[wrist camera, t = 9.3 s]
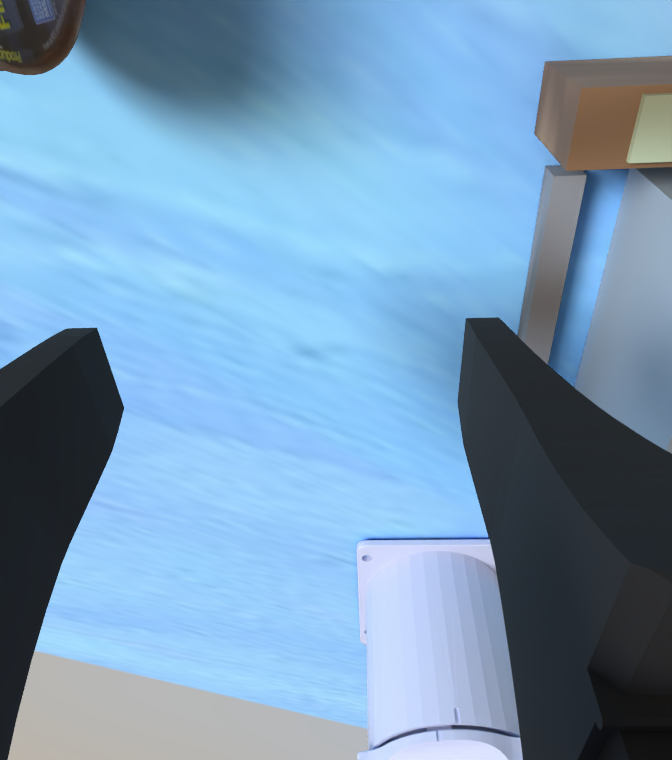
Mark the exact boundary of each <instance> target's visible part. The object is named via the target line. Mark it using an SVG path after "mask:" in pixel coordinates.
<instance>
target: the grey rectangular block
mask: <svg viewBox="0 0 672 760" xmlns="http://www.w3.org/2000/svg"><path fill="white" fill-rule="evenodd" d="M574 388H575V389H576V390H578V391H579V392H580V393H582V394H583V395H584V396H585V397H587V398H588V399H589V400H591V401H592V402H593V403H594V404H596V405H597V406H598V407H600V408H601V409H602V410H604V411H605V412H607V413H608V414H609V415H611V416H612V417H614V418H615V419H617V420H618V421H620V422H621V423H623V424H624V425H626V426H627V427H629V428H630V429H632V430H633V431H635V432H636V433H638V434H639V435H641V436H643V437H644V438H646V439H647V440H649V441H651V442H652V443H654V444H656V445H658V446H659V447H661V448H663V449H664V450H666V451H668V452H670V453H672V167H657V168H630V169H629V171H628V175H627V179H626V183H625V187H624V191H623V195H622V199H621V203H620V207H619V211H618V215H617V219H616V223H615V227H614V231H613V235H612V239H611V243H610V247H609V251H608V255H607V259H606V263H605V267H604V271H603V275H602V279H601V283H600V287H599V291H598V295H597V299H596V303H595V307H594V311H593V315H592V319H591V323H590V327H589V330H588V334H587V338H586V342H585V346H584V350H583V354H582V358H581V362H580V366H579V370H578V374H577V378H576V382H575V386H574Z"/></svg>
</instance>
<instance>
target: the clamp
mask: <svg viewBox="0 0 672 760" xmlns="http://www.w3.org/2000/svg"><path fill="white" fill-rule="evenodd" d="M534 134H535V135H536V136H537V137H538V139H539V140H540V141H541V142H542V143H543V144H544V146H545V147H546V148H547V149H548V150H549V152H550V153H551V154H552V155H553V156H554V157H555V159H556V160H557V161H558V162H559V163H560V164H561V165H556V166H545V172H544V178H543V184H542V190H541V196H540V202H539V208H538V215H537V221H536V227H535V233H534V239H533V245H532V251H531V257H530V263H529V269H528V276H527V282H526V288H525V294H524V300H523V306H522V312H521V318H520V324H519V331H518V337H519V338H520V339H521V340H522V341H523V342H524V343H525V344H526V345H527V346H528V347H529V348H530V349H531V350H532V351H533V352H534V353H535V354H537V355H538V356H539V357H540V358H541V359H542V360H543V361H544V362H545V363H546V364H547V365H548V361H549V356H550V351H551V347H552V342H553V337H554V332H555V327H556V322H557V318H558V313H559V308H560V303H561V298H562V293H563V289H564V284H565V279H566V274H567V269H568V264H569V260H570V255H571V250H572V245H573V240H574V235H575V231H576V226H577V221H578V216H579V211H580V207H581V202H582V197H583V192H584V187H585V182H586V178H587V175H586V174H585V172H584V171H583V170H603V169H630V168H657V167H672V56H658V57H636V58H614V59H592V60H571V61H549V62H545V66H544V72H543V79H542V86H541V93H540V99H539V106H538V113H537V120H536V126H535V133H534Z"/></svg>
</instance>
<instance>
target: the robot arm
mask: <svg viewBox="0 0 672 760" xmlns="http://www.w3.org/2000/svg"><path fill="white" fill-rule="evenodd" d="M458 408H459V416H460V423H461V431H462V438H463V444H464V449H465V452H466V456H467V460H468V464H469V467H470V471H471V475H472V478H473V482H474V485H475V489H476V493H477V496H478V500H479V503H480V507H481V511H482V514H483V518H484V522H485V525H486V529H487V532H488V536H489V539H467V540H365V541H361V542H359V543H358V544H357V568H358V593H359V618H360V641H361V642H362V643H363V644H365V645H367V707H368V751H363V752H359V753H358V754H357V760H672V453H670V452H668V451H666V450H664V449H663V448H661V447H659V446H658V445H656V444H654V443H652V442H651V441H649V440H647V439H646V438H644V437H643V436H641V435H639V434H638V433H636V432H635V431H633V430H632V429H630V428H629V427H627V426H626V425H624V424H623V423H621V422H620V421H618V420H617V419H615V418H614V417H612V416H611V415H609V414H608V413H607V412H605V411H604V410H602V409H601V408H600V407H598V406H597V405H596V404H594V403H593V402H592V401H591V400H589V399H588V398H587V397H585V396H584V395H583V394H582V393H580V392H579V391H578V390H576V389H575V388H574V387H573V386H572V385H570V384H569V383H568V382H567V381H566V380H564V379H563V378H562V377H561V376H560V375H559V374H557V373H556V372H555V371H554V370H553V369H552V368H551V367H550V366H548V365H547V364H546V363H545V362H544V361H543V360H542V359H541V358H540V357H539V356H538V355H537V354H535V353H534V352H533V351H532V350H531V349H530V348H529V347H528V346H527V345H526V344H525V343H524V342H523V341H522V340H521V339H520V338H519V337H518V336H517V335H516V334H515V333H514V332H513V331H512V330H511V329H510V328H509V327H508V326H507V325H506V324H505V323H504V322H503V321H502V320H500V319H499V318H466V323H465V334H464V344H463V354H462V364H461V374H460V384H459V394H458ZM123 410H124V406H123V403H122V400H121V397H120V395H119V392H118V389H117V386H116V383H115V380H114V377H113V374H112V371H111V368H110V365H109V362H108V359H107V356H106V353H105V350H104V347H103V344H102V342H101V339H100V336H99V333H98V330H97V328H72V329H65V330H63V331H61V332H59V333H57V334H55V335H54V336H52V337H50V338H48V339H47V340H45V341H43V342H42V343H40V344H39V345H37V346H35V347H34V348H32V349H31V350H29V351H28V352H26V353H25V354H23V355H22V356H20V357H18V358H17V359H15V360H14V361H12V362H11V363H9V364H8V365H6V366H5V367H3V368H1V369H0V760H7V759H8V755H9V750H10V745H11V741H12V736H13V732H14V727H15V723H16V718H17V714H18V710H19V706H20V703H21V699H22V695H23V691H24V687H25V683H26V679H27V676H28V672H29V668H30V663H31V660H32V656H33V653H34V650H35V646H36V643H37V640H38V636H39V633H40V630H41V626H42V623H43V619H44V616H45V613H46V609H47V606H48V603H49V600H50V597H51V594H52V591H53V588H54V585H55V582H56V579H57V576H58V573H59V570H60V567H61V564H62V562H63V559H64V557H65V554H66V552H67V549H68V547H69V544H70V542H71V540H72V538H73V536H74V533H75V531H76V529H77V527H78V525H79V523H80V520H81V518H82V516H83V514H84V512H85V510H86V507H87V505H88V503H89V501H90V499H91V497H92V494H93V492H94V490H95V488H96V486H97V484H98V481H99V479H100V477H101V475H102V473H103V470H104V468H105V466H106V464H107V461H108V459H109V457H110V454H111V452H112V449H113V446H114V443H115V440H116V436H117V433H118V429H119V426H120V422H121V418H122V414H123Z"/></svg>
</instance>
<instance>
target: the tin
mask: <svg viewBox="0 0 672 760" xmlns="http://www.w3.org/2000/svg"><path fill="white" fill-rule="evenodd" d="M85 3H86V0H0V71H8V72H11V73H17V74H23V75H37V74H42V73H45V72H48V71H50V70H51V69H53V68H55V67H56V66H58V65H59V64H60V63H61V62H62V61H63V60H64V59H65V58H66V57H67V56H68V54H69V53H70V51H71V49H72V48H73V46H74V44H75V42H76V39H77V37H78V34H79V30H80V26H81V23H82V19H83V15H84V9H85Z"/></svg>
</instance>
